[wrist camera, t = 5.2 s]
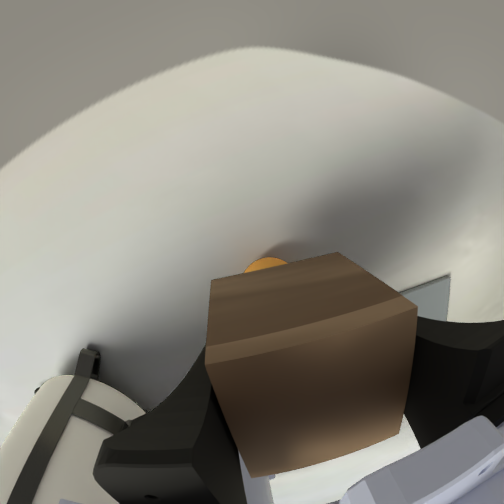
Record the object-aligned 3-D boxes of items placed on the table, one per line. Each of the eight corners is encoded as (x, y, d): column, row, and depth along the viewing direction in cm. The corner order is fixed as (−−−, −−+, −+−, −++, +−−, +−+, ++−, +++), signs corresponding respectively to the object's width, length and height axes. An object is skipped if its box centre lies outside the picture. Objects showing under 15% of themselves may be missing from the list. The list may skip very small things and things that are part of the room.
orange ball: (295, 295, 20) (309, 318, 17) (244, 306, 20) (249, 332, 16) (287, 245, 19) (301, 260, 16) (233, 257, 19) (236, 275, 15)
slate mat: (433, 376, 24) (435, 379, 24) (333, 417, 24) (335, 421, 23) (447, 275, 21) (450, 277, 21) (327, 314, 21) (329, 317, 20)
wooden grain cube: (345, 354, 14) (398, 433, 8) (239, 381, 14) (251, 478, 8) (337, 252, 12) (418, 306, 7) (211, 280, 12) (205, 364, 6)
